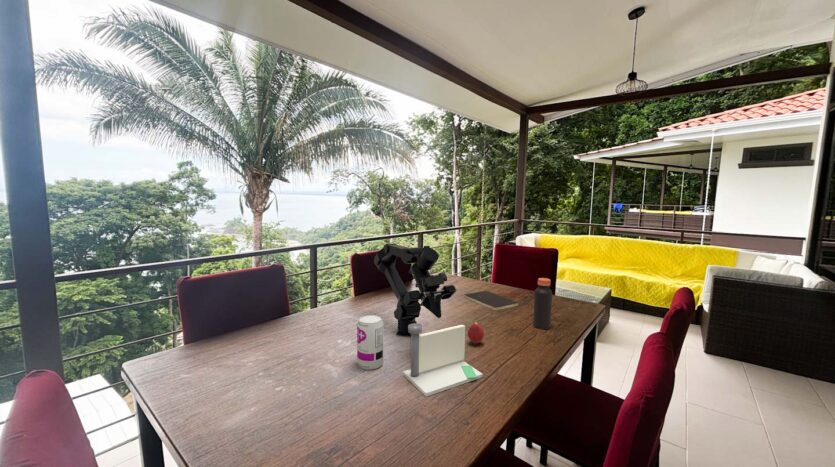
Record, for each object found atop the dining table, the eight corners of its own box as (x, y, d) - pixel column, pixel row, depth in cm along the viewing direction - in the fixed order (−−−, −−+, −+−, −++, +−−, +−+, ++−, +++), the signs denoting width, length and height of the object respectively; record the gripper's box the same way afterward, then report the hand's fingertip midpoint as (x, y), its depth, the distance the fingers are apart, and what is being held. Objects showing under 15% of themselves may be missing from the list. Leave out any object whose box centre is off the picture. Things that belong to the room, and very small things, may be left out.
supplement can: (362, 373, 104) (361, 325, 102) (354, 361, 111) (353, 316, 109) (387, 367, 108) (387, 321, 106) (377, 356, 115) (377, 312, 113)
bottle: (547, 323, 145) (550, 277, 143) (552, 330, 139) (555, 281, 136) (531, 322, 146) (533, 277, 144) (535, 329, 139) (537, 281, 137)
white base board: (428, 398, 91) (428, 394, 91) (402, 374, 103) (402, 370, 103) (485, 378, 102) (486, 374, 102) (457, 358, 114) (457, 354, 114)
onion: (483, 347, 122) (484, 326, 121) (467, 346, 123) (467, 324, 122) (483, 341, 128) (484, 320, 127) (468, 339, 129) (468, 318, 128)
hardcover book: (494, 311, 161) (494, 307, 160) (464, 298, 180) (464, 294, 180) (519, 306, 169) (519, 302, 168) (487, 294, 188) (487, 290, 188)
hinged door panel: (412, 379, 99) (412, 329, 97) (405, 373, 102) (405, 324, 100) (466, 362, 109) (468, 317, 107) (458, 357, 112) (460, 313, 110)
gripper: (407, 267, 111) (425, 310, 103) (454, 262, 121) (473, 301, 113) (396, 285, 119) (412, 327, 111) (440, 279, 128) (458, 316, 120)
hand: (439, 317), depth 113 cm, fingers closed
